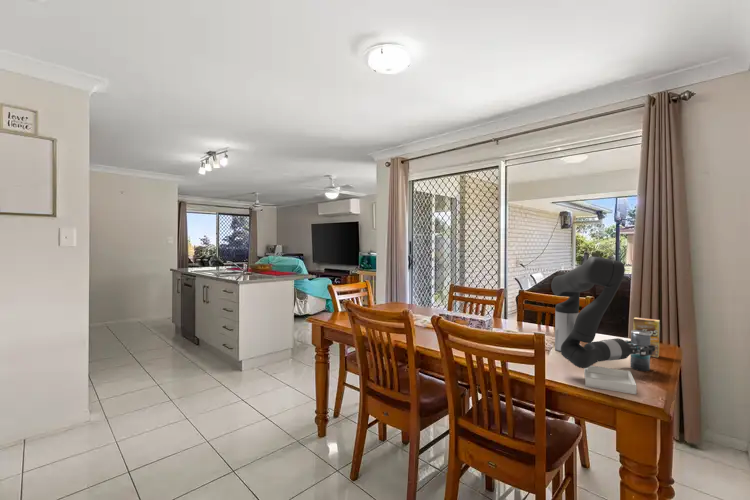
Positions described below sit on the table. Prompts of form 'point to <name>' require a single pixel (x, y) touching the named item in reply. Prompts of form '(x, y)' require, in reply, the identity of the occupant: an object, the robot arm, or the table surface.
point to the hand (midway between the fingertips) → (644, 345)
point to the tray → (610, 379)
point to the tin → (644, 340)
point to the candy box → (651, 327)
